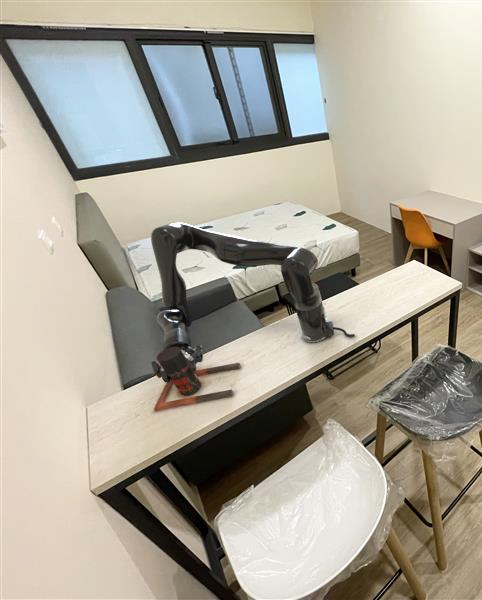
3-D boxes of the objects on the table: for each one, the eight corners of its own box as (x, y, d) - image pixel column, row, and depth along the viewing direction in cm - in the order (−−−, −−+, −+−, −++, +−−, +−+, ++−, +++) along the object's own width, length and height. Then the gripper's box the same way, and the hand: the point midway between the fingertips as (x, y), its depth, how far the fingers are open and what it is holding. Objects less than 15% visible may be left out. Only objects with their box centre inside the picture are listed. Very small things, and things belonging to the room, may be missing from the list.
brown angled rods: (240, 365, 108) (239, 362, 107) (232, 396, 97) (230, 393, 96) (171, 378, 104) (169, 375, 104) (155, 411, 94) (152, 408, 93)
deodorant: (176, 391, 100) (152, 356, 91) (195, 378, 104) (174, 344, 95) (186, 399, 97) (162, 364, 88) (205, 386, 101) (184, 351, 92)
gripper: (145, 344, 101) (144, 378, 89) (196, 327, 107) (201, 356, 95) (157, 361, 105) (157, 395, 93) (205, 343, 111) (211, 374, 99)
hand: (180, 375), depth 94 cm, fingers closed on deodorant, 6 cm apart
